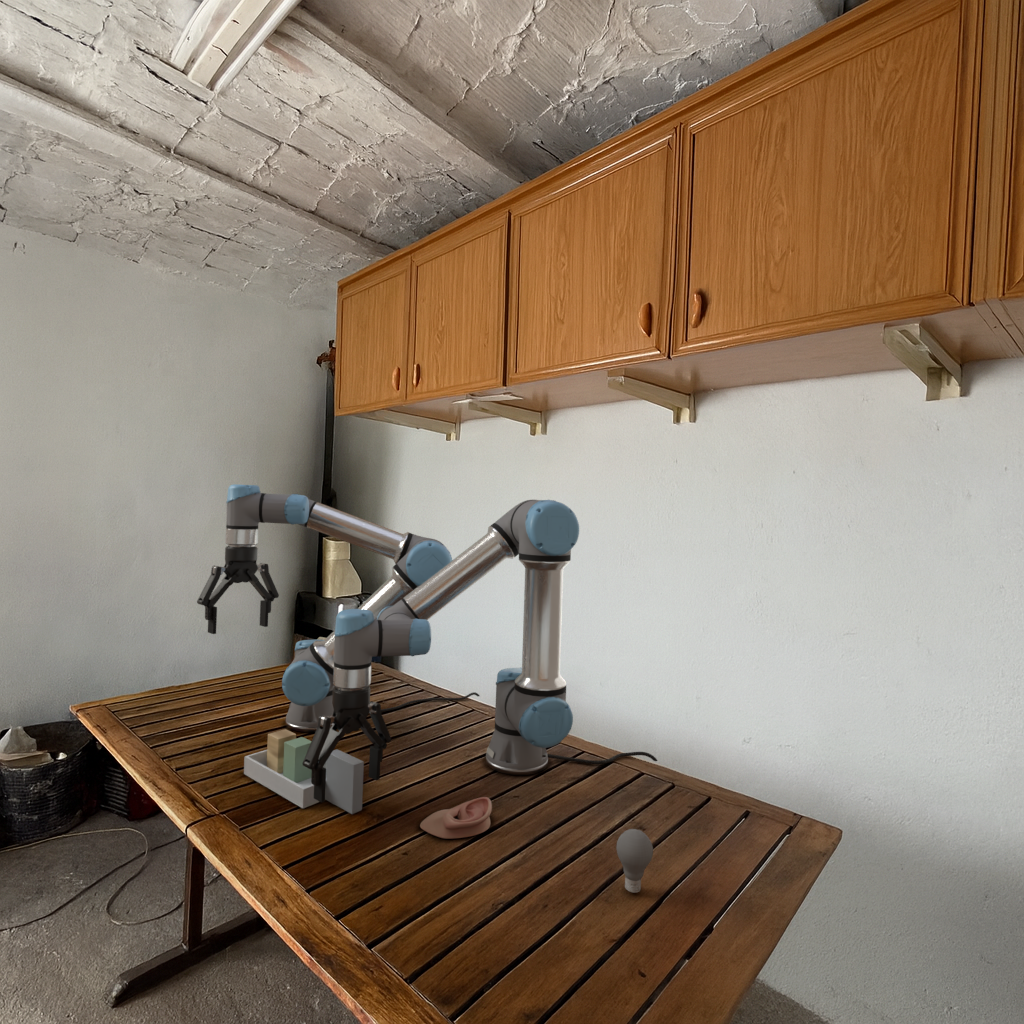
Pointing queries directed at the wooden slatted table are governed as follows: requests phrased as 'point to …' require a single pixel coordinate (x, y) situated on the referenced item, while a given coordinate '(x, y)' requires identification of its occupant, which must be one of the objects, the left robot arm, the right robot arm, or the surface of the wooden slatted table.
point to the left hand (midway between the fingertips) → (238, 629)
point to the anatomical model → (460, 820)
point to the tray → (339, 789)
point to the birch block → (277, 749)
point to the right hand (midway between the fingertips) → (347, 788)
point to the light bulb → (634, 857)
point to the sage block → (296, 760)
